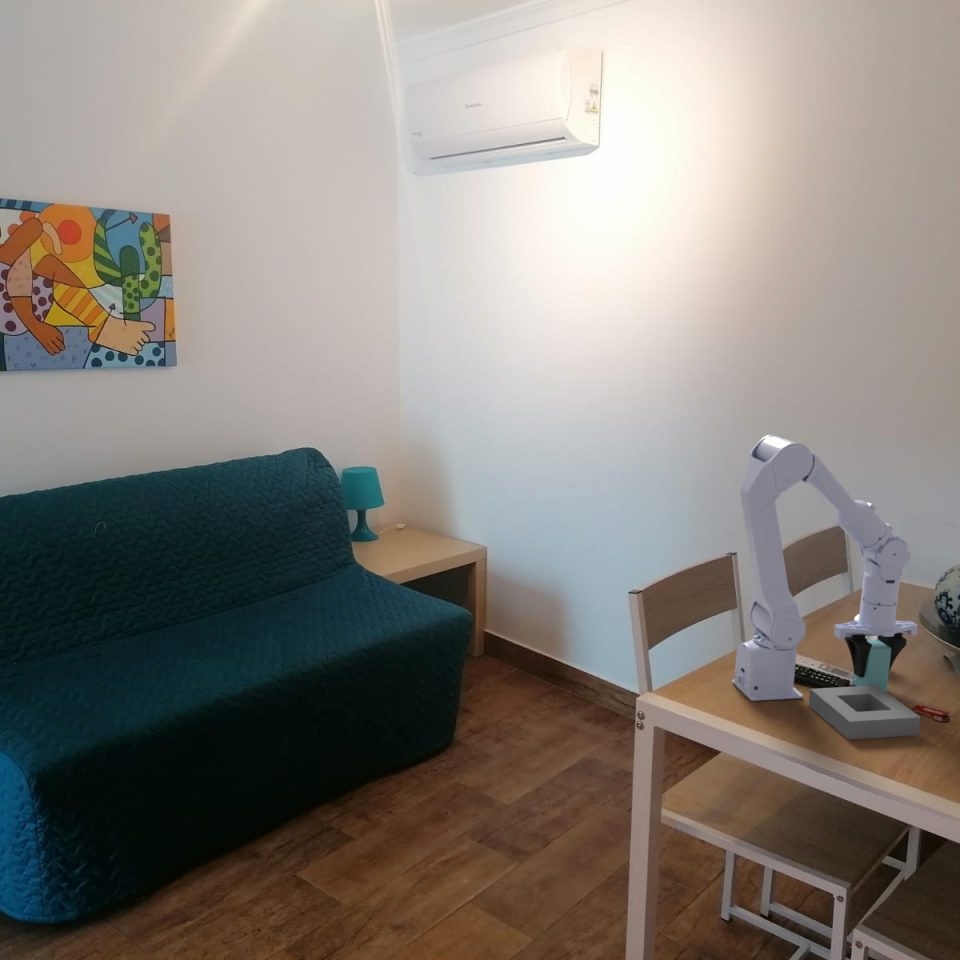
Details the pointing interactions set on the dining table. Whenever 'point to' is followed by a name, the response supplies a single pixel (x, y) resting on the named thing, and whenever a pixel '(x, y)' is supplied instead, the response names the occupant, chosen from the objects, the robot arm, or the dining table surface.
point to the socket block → (874, 722)
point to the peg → (876, 666)
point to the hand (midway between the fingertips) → (870, 674)
